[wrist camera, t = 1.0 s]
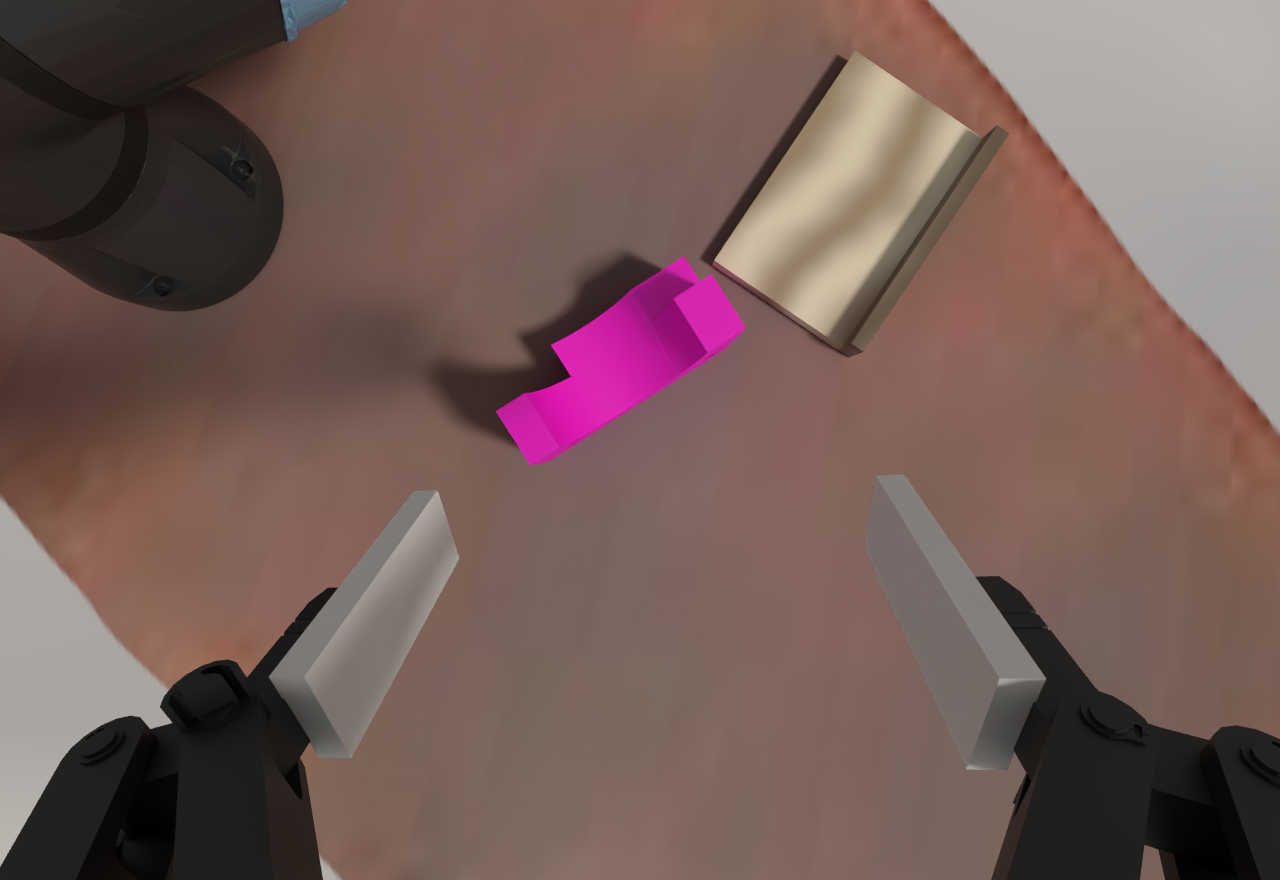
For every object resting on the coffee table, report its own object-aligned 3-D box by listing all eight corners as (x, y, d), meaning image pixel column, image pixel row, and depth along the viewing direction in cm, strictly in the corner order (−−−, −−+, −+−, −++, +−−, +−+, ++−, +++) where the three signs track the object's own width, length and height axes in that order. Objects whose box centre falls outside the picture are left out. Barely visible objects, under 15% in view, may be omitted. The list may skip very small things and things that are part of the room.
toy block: (678, 277, 38) (688, 238, 31) (724, 350, 38) (746, 328, 31) (504, 388, 38) (472, 375, 31) (550, 460, 38) (530, 465, 31)
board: (711, 265, 38) (717, 252, 36) (849, 60, 38) (864, 34, 36) (848, 357, 38) (863, 351, 36) (984, 153, 38) (1009, 133, 36)
